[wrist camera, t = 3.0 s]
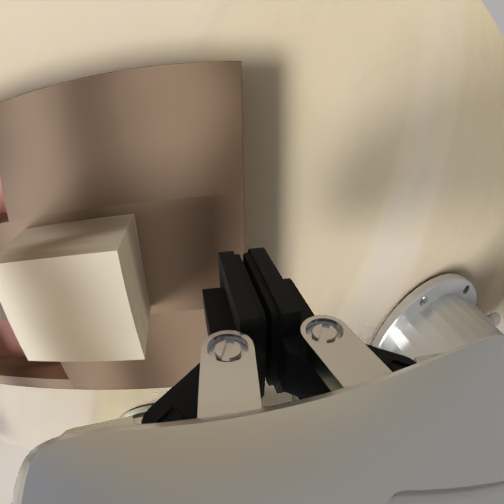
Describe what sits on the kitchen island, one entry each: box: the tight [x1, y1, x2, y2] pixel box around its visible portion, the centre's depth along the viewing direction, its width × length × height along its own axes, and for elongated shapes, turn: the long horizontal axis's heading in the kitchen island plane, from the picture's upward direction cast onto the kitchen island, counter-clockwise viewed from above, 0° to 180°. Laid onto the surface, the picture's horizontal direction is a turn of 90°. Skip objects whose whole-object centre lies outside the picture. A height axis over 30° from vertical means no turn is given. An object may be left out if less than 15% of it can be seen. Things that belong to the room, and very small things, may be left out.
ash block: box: [0, 214, 151, 362], centre depth 12 cm, size 6×5×4 cm
